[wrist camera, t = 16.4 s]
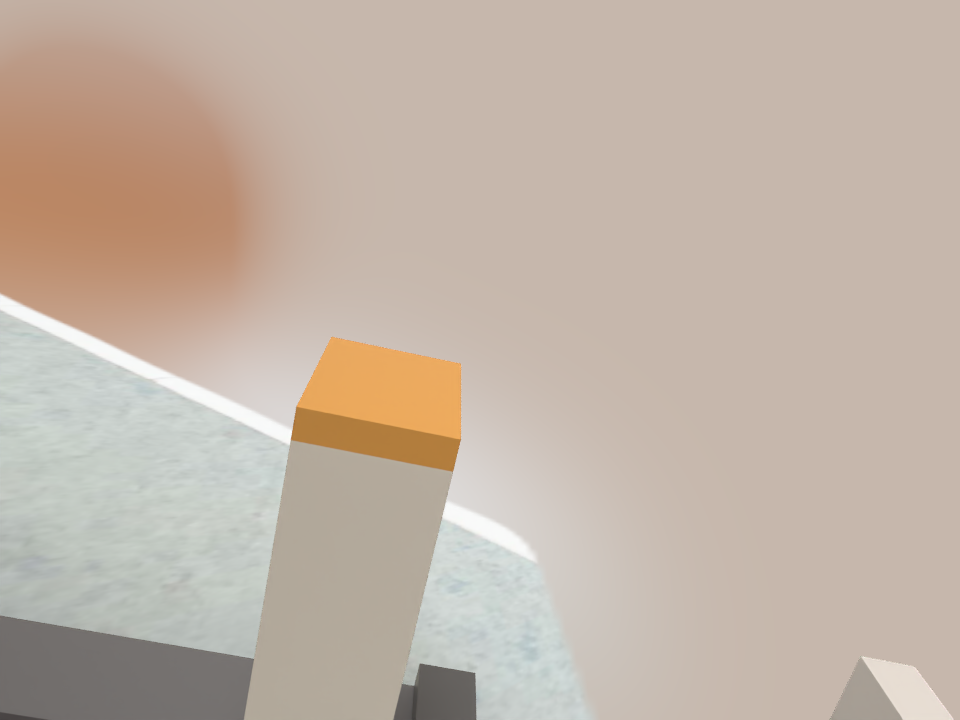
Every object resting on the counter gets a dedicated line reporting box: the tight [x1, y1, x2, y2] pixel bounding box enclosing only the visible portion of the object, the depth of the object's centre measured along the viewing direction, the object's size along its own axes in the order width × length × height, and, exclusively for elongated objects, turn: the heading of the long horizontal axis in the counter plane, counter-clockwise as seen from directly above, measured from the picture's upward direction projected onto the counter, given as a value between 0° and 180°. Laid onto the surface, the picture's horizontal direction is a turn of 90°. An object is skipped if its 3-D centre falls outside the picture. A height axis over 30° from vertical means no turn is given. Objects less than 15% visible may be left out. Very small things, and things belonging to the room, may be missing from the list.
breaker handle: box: [244, 337, 461, 720], centre depth 22 cm, size 4×5×13 cm
